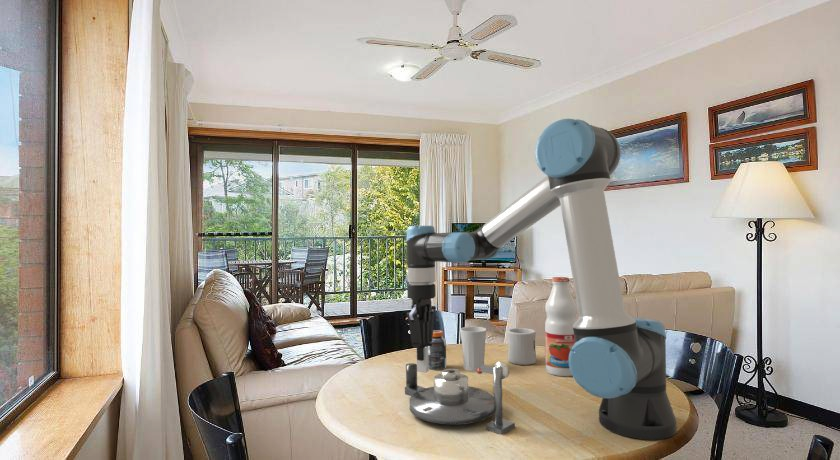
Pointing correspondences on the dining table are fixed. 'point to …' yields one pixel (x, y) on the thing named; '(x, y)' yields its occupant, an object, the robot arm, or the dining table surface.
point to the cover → (451, 387)
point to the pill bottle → (437, 351)
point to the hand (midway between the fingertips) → (422, 371)
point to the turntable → (432, 411)
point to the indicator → (498, 397)
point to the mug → (521, 346)
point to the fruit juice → (559, 327)
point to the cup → (473, 347)
